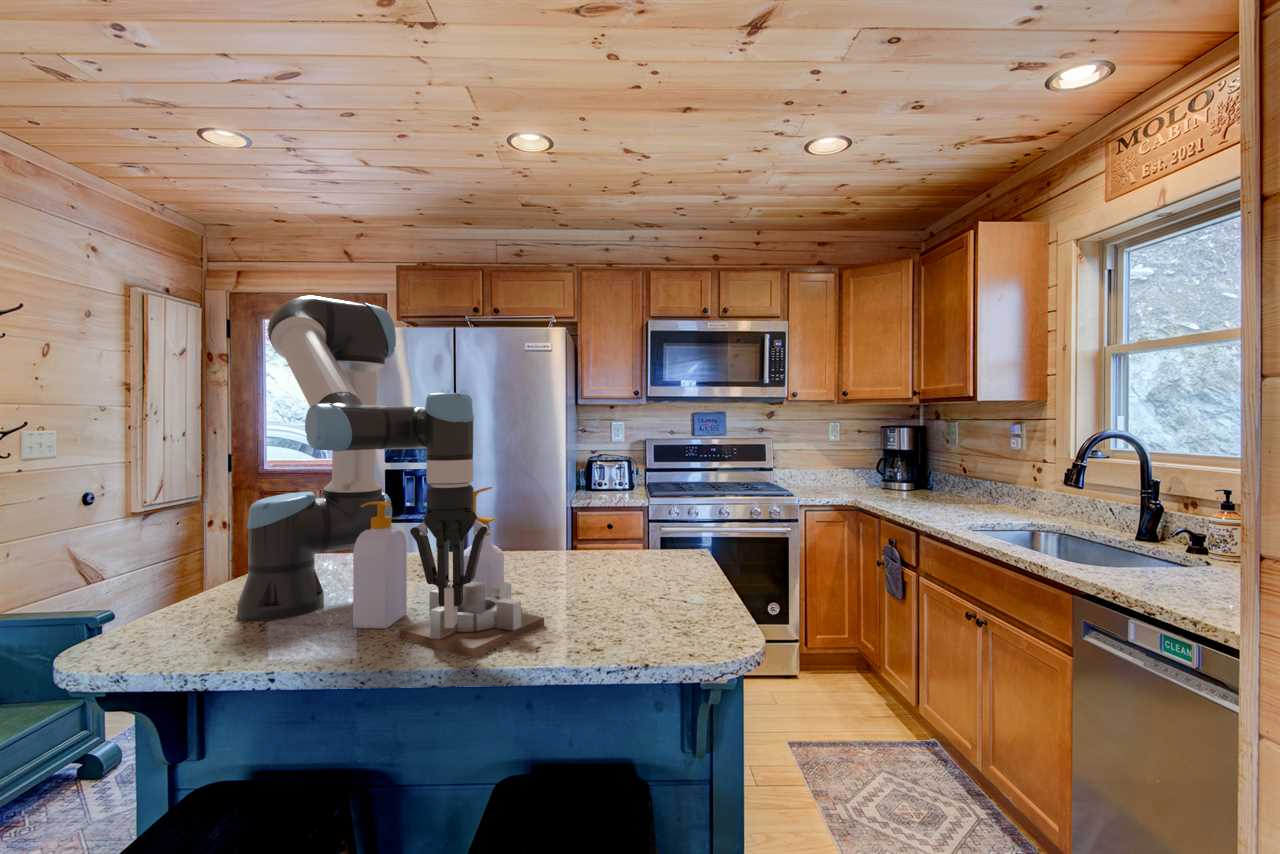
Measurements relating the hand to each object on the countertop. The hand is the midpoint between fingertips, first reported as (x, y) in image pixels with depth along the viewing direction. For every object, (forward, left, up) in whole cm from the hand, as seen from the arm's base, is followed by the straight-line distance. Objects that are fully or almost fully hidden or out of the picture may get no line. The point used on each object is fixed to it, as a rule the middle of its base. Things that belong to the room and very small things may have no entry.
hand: (451, 624), depth 98 cm
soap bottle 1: (-23, +3, -4) cm, 23 cm away
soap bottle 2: (-15, +22, -4) cm, 27 cm away
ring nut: (-3, +8, -2) cm, 9 cm away
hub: (-3, +8, -4) cm, 9 cm away
